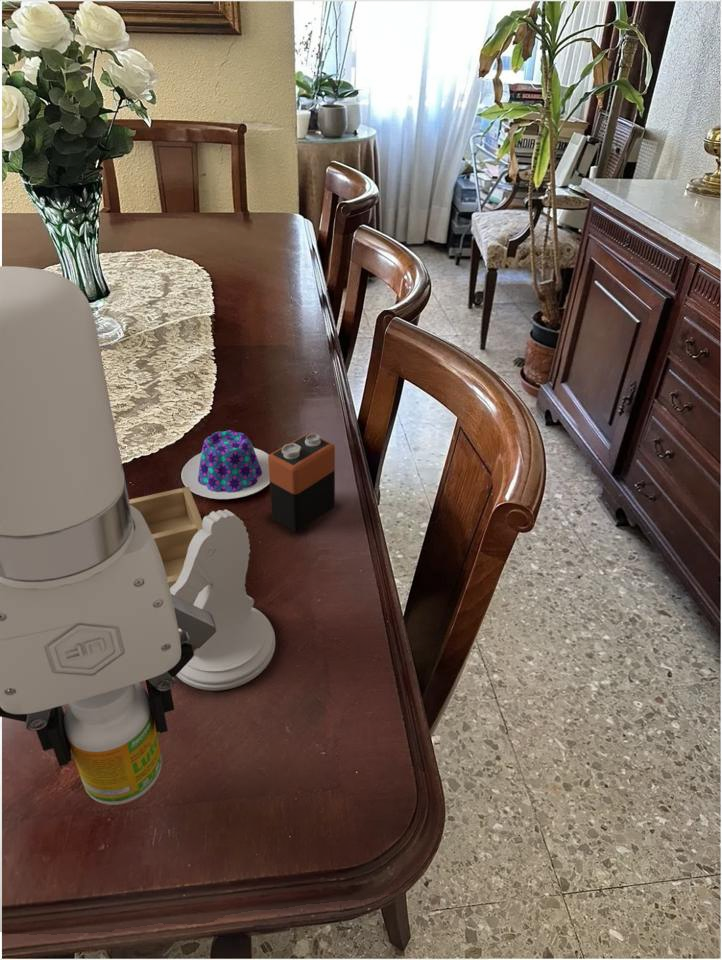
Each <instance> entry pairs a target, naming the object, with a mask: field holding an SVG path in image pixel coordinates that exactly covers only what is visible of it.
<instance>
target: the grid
mask: <svg viewBox="0 0 722 960" xmlns="http://www.w3.org/2000/svg"><path fill="white" fill-rule="evenodd" d="M129 503H130V505H131V506H133V507H134V508H136V509H137V510H138V511H139V512H140V513H141V514H142V516H143V518H144V520H145V522H146V524H147V526H148V528H149V530H150V532H151V533H152V536H153V538H154V540H155V542H156V545H157V548H158V550H159V553H160V555H161V559H162V562H163V565H164V569H165V572H166V576H167V580H168V584H169V588H171V587H172V586H173V585H174V584H175V583H176V581H177V580H178V578H179V576H180V574H181V572H182V569H183V567H184V562H185V559H186V555H187V552H188V548H189V545H190V542H191V540H192V539H193V537H194V535H195V534H196V533H197V532H198V531H199V530H201V529H203V528H202V522H203V518H202V517H201V513H200V512H199V509H198V507H197V504H196V502H195V499H194V495H193V494H192V491H190V489H189V487H186V486H184V487H180V488H175V489H172V490H171V489H170V490H166V491H163V492H162V491H161V492H157V493H153V494H149V495H144V496H139V497H135V498H131V499H130V498H129ZM197 596H198V594H197ZM197 596H196V598H197ZM196 598H195V600H196ZM195 600H194V601H193V604H194V602H195Z"/></svg>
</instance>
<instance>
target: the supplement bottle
mask: <svg viewBox="0 0 722 960" xmlns="http://www.w3.org/2000/svg"><path fill="white" fill-rule="evenodd" d="M64 729H65V733H66V736H67V739H68V742H69V745H70V749H71V754H72V757H73V759H74V762H75V765H76V767H77V771H78V774H79V776H80V780H81V783H82V785H83V788H84V790H85V792H86V793H87V795H88V796H89V797H90V798H91V799H92V800H94V801H95V802H97V803H100V804H103V805H108V806H109V805H110V806H117V805H123V804H127V803H130V802H133V801H135V800H137V799H139V798H140V797H142V796H143V795H145V794H146V793H147V792H148V791H149V790H150V789H151V788H152V786H153V785H154V784H155V782H156V781H157V779H158V777H159V775H160V773H161V769H162V765H163V764H162V763H163V757H162V751H161V746H160V745H161V744H160V741H159V736H158V732H157V731H156V727H155V722H154V718H153V713H152V708H151V704H150V699H149V695H148V690H147V689H146V688H145V687H144V686H143V685H142V684H141V682H138V683H135V684H132V685H129V686H125V687H122V688H119V689H116V690H112V691H109V692H106V693H102V694H99V695H96V696H92V697H89V698H86V699H82V700H79V701H75V702H72V703H68V704H67V706H66V708H65V710H64Z"/></svg>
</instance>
